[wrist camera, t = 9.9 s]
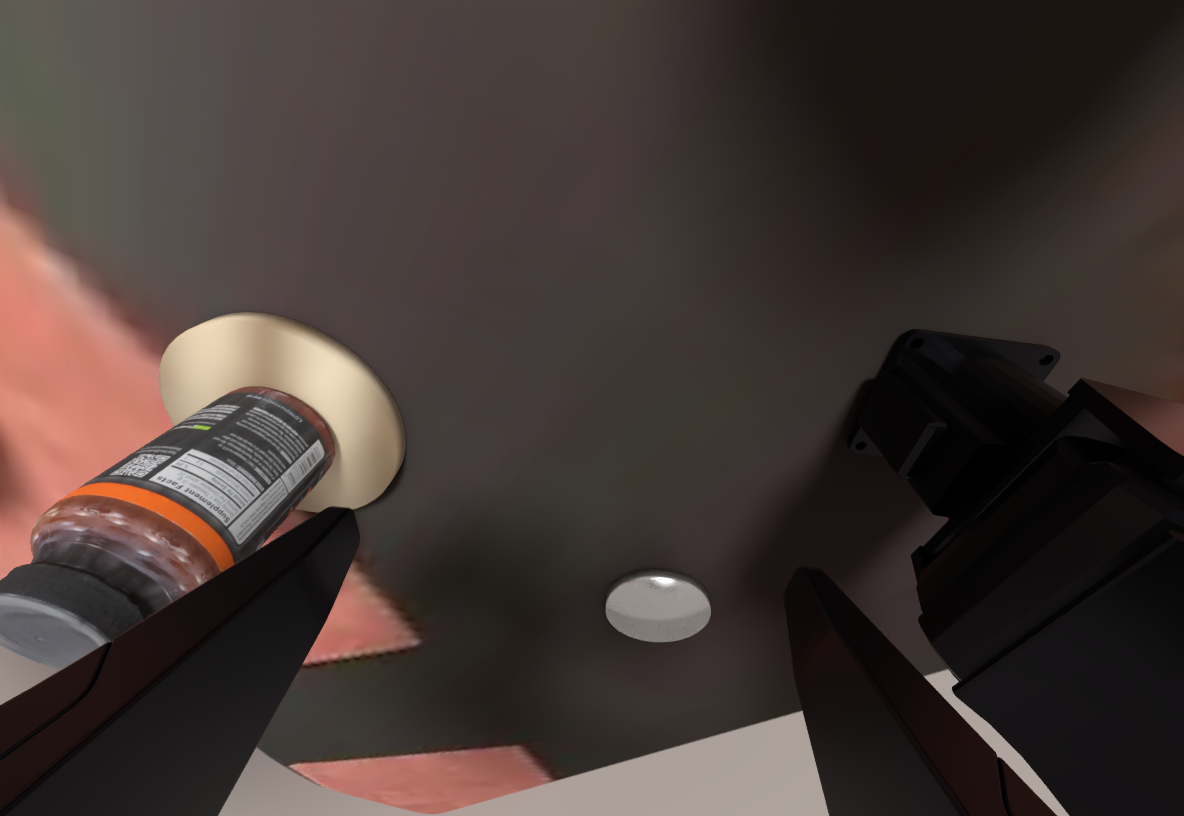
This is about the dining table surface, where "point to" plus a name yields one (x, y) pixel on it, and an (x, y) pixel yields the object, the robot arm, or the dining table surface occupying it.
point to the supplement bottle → (162, 523)
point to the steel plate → (657, 605)
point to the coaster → (294, 394)
